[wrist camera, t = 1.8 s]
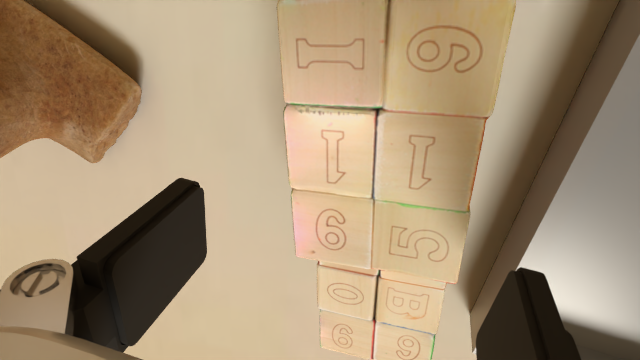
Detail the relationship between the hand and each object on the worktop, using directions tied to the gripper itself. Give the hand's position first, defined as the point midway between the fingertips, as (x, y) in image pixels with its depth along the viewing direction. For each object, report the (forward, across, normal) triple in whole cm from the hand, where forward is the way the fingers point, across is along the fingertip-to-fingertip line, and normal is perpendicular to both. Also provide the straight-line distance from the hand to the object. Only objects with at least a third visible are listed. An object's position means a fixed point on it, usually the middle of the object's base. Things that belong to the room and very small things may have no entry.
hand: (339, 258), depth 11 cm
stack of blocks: (+14, -1, 0) cm, 14 cm away
